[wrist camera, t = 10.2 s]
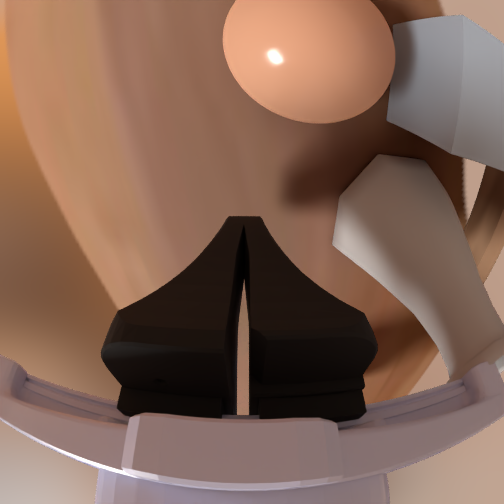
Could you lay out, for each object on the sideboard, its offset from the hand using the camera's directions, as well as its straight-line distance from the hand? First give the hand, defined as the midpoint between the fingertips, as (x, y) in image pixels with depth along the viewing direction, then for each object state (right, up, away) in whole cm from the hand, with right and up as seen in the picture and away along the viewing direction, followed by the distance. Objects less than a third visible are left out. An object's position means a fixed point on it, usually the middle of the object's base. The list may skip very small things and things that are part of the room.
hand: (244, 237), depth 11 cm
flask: (+8, +2, +2) cm, 8 cm away
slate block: (+9, +7, -2) cm, 12 cm away
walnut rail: (+15, +3, +1) cm, 16 cm away
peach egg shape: (+2, +7, -2) cm, 8 cm away
